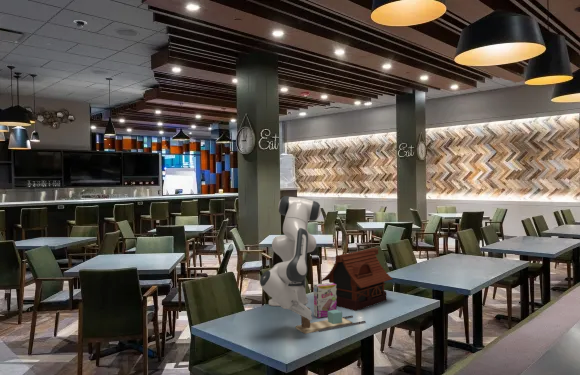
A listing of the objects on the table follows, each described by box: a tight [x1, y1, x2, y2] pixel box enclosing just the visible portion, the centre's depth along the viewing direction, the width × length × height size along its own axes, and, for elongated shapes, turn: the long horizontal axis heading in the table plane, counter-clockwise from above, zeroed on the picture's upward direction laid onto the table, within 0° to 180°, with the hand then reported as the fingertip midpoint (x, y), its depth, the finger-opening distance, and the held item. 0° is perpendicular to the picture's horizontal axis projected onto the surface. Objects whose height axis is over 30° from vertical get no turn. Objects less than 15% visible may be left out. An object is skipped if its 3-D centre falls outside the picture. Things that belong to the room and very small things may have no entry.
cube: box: [327, 309, 343, 324], centre depth 218 cm, size 5×5×5 cm
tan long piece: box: [295, 306, 353, 335], centre depth 215 cm, size 26×9×10 cm, turn 117°
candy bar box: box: [313, 282, 338, 319], centre depth 232 cm, size 11×5×16 cm, turn 111°
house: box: [320, 247, 393, 312], centre depth 257 cm, size 35×28×29 cm
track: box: [312, 315, 367, 333], centre depth 218 cm, size 26×11×1 cm, turn 117°
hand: (306, 317), depth 211 cm, fingers open, 6 cm apart
